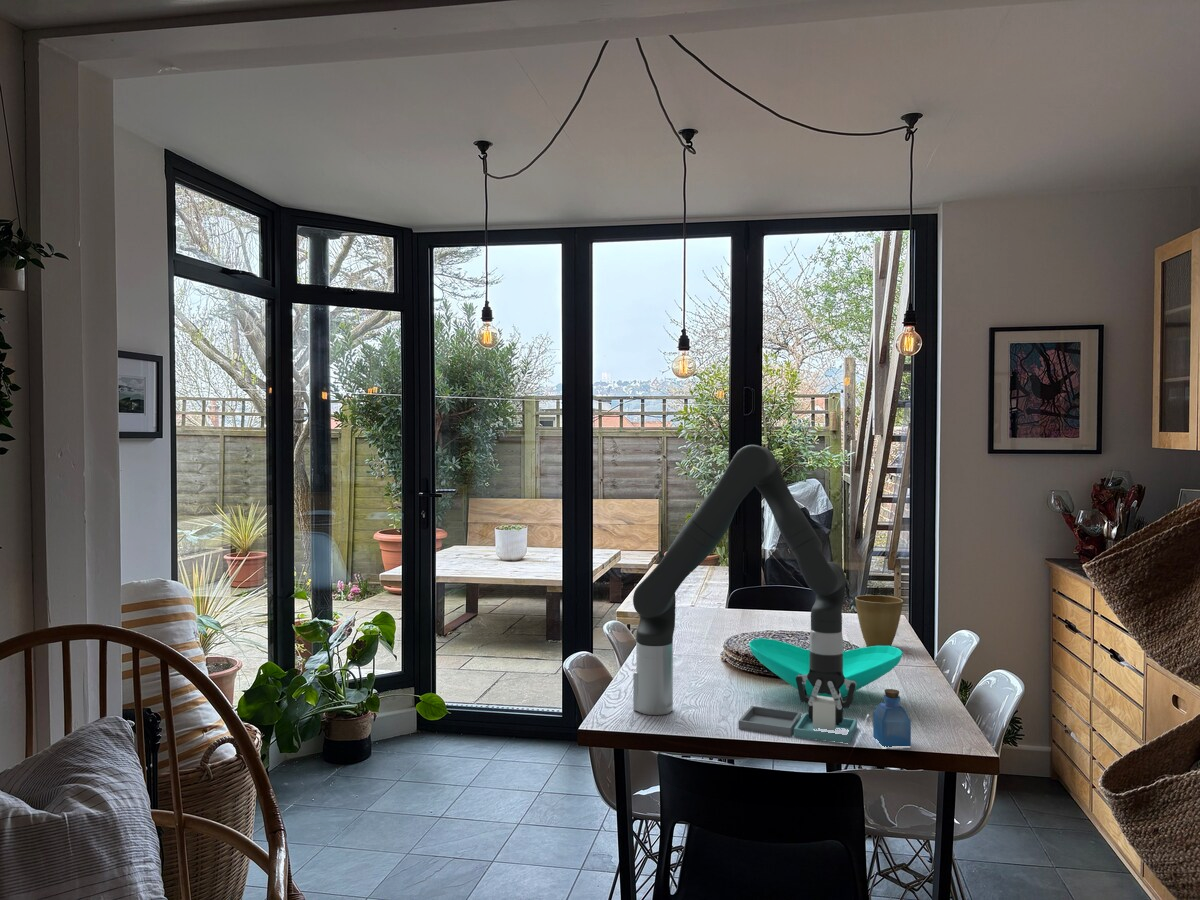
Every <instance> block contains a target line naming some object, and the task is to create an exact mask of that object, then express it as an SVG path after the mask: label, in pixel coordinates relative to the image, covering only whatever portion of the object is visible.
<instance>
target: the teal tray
mask: <svg viewBox="0 0 1200 900" xmlns="http://www.w3.org/2000/svg"><path fill="white" fill-rule="evenodd" d="M802 714H803V715H801V719H800V720H799V722H798V723H797V725H796V726H795V728H794V732H793V737H794V738H800V739H806V738H809V739H808V740H813V739H817V740H816V741H820V740H826V741H825V742H827V741H835V742H843V743H848V744H849V743H851V742H850V741H852V740H853V737H854V735H855V733H856V730H857V728H858V719H852V718H848V717H846V718H845V717H843V721H842V723H840V724H839V725H838V726H837V728H840V729H841V728H845V729H846V730H847V729H848V730H849V732H848V734H847V735H842V734H835V733H828V732H821V731H814V730H813V729H815V730H816V729H817V730H818V728H813V722H812V721H811V719H809V716H808V715H809V712H804V713H802ZM836 730H837V729H836ZM838 730H839V729H838ZM841 730H842V729H841ZM849 745H850V744H849Z"/></svg>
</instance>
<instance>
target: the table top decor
mask: <svg viewBox="0 0 1200 900" xmlns="http://www.w3.org/2000/svg"><path fill="white" fill-rule="evenodd" d="M748 645H749V649H750V651H751V652H750V653H751V654H752V655H753V656H754V658H756V659H757V660H758V662H759V663H761V664H762V665H763V666H764V667H765V668H767V669H768V670H769V671H771V672H772V673H773V674H775V675H776V676H777V677H779V678H780V679H781V680H783V681H784V682H785V683H787V684H789V685H790V686H791V687H793V688H794V689H796V690H797V691H798V687H797V683H796V677H797V676H798V675H799V674H802V675H807V674H808V673H809V650H810V649H805V648H802V647H800V646H796V645H794V644H791V643H788V642H784V641H780V640H777V639H773V638H770V639H769V638H765V637H764V638H762V637H760V638H754V639H751V641H749V642H748ZM903 655H904V652H903V651H902V650H901V649H900V648H898V647H895V646H893V645H891V646H871V647H867V646H865V647H859V648H854V649H850V650H845V651H844V650H843V675H844V677H845V679H847V680H850V681H853V680H855V681H856V682H857V685H856V689H855V692H856V691H858V690H860V689H862V688H864V687H865V686H868V685H869V684H871V683H873V682H875V681H877V680H879V679H880V678H882V677H883V676H885V675H887V673H889V672H891V671H893V669H894V668H895V667H896V666H897V665H898V664H899V663H900V661H901V659H902V657H903ZM805 688H806V692H807V696H809V697H811V694H812V691H813V689H814V688H813V686H812V685H811V683H810V682H809V680H808V679H807V682H806V684H805ZM839 690H840V693H841V698H842V699H844V698H845V697H847V694H848V690H847V689H846V685H845V684H843V685H842V686H841V687H840V688H839ZM818 696H825V697H832V695H829V694H826V693H823V694H821V693H818Z"/></svg>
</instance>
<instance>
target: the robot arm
mask: <svg viewBox="0 0 1200 900" xmlns="http://www.w3.org/2000/svg"><path fill="white" fill-rule="evenodd" d="M754 487H755V488H756V489H757V491H758V492H759V493H760V494H761V496H762V497H763V498H764V501H765V502H766V503H767V505H768V507H769V509H770V510H771V513H772V516H773V518H774V521H775V523H776V525H777V528H778V530H779V532H780V534H781V536H782V537H783V539H784V542H785V543H786V544H787V546H788V547H789V549H790V551H791V552H792V554H793V555H794V557H795V558H796V562H797V564H798V568H799V570H800V573H801V575H802V576H803V577H802V578H803V580H804V581H805V583H806V585H807V587H808V588H809V589H810V590H811V592H813V593H814V594H815V602H814V604H813V605H812V608H811V610H810V634H809V649H808V650H809V673H808V674H807V675H802V674H799V675H798V676H797V677H796V683H797V687H798V690H797V691H798V696H799V700H800V702H802V703H805V704H807V706H808V713H809V715H808V716H809V719H811V721H812V722H813V701H814V700H815V699H816V698H817V696H818V693H821V694H823V693H826V694H829V695H832V697H833V700H834V701H835V703H836V706H837V709H836V725H839V724H840V723H842V721H843V718H844V709H845V708H846V709H850V707H851V705H852V703H853V700H854V695H855V692H856V691H855V689H856V685H857V682H856V681H855V680H853V681H850V680H847V679H845V677H844V675H843V652H844V640H843V639H844V638H843V613H842V612H843V605H844V602H845V594H846V586H847V585H846V584H847V581H846V579H847V578H846V573H845V570H843V567H841V566H840V565H839V564H838V563H836V562H834V561H827V559H826V557H825V555H824V552H823V551H822V550H823V542H822V541H821V539H820V537H819V536H818V534H817V533H816V531H815V529H814V528H813V527H812V525H811V522H809V520H808V519H807V517H806V516H805V514H804V512H803V510H802V509H801V507H800V506H799V505H798V503H797V501H796V500H795V497H794V496H793V495H792V492H791V491H790V489H789V486H788V484H787V483H786V481H785V479H784V476H783V473H782V472H781V469H780V467H779V464H778V462H777V459H776V457H775V455H774V453H773V452H772V451H771V450H770V449H769V448H767V447H765V446H762V445H761V446H760V445H759V444H748V445H745V446H743V447H741V448H740V449H738V450H737V452H736V453H735V454H734V455H733V457H732V459H731V461H730V462H729V464H728V466H727V467H726V469H725V470H724V472H723V474H722V476H721V477H720V479H719V481H718V482H717V483H716V485H715V487H713V488H712V490H711V491H710V492H709V494H708V495H706V497H705V498H704V499H703V501H702V502H701V503H700V504H699V506H698V507H697V508H696V509H695V511H694V512H693V514H691V516H690V517H689V518H688V520H687V521H686V522H685V524H684V525H683V526H682V528H681V530H680V531H679V532H678V534H677V536H675V538H674V540H673V541H672V543H671V544H670V546H669V547H668V549H667V551H666V552H665V554H664V556H663V558H662V559H661V561H660V562H659V563H658V564H657V565H656V566H655V568H654V569H653V570H652V571H651V572H650V573H649V574H648V575H647V576H646V577H645V578H644V579H643V580H642V581H641V582H640V584H638V586H636V588H635V590H634V592H633V595H632V604H633V607H634V610H635V612H636V613H637V614H638V615H639V622H638V627H637V629H636V634H635V635H636V636H635V637H636V639H635V642H636V646H635V648H636V650H635V651H636V654H635V655H636V656H635V657H636V660H635V661H636V665H635V666H636V668H635V669H636V670H635V671H634V672H633V675H632V676H633V677H632V678H633V683H632V684H633V685H632V686H633V688H632V689H633V692H632V694H633V696H632V697H633V699H632V700H633V701H632V702H633V707H632V710H633V711H636V712H639V713H640V714H644V715H648V716H662V715H667V714H670V713H672V712H673V711H672V710H674V708H673V707H674V699H673V698H674V697H673V696H674V686H673V685H674V677H673V676H674V668H673V667H674V665H673V664H674V645H673V644H674V632H675V629H676V628H675V627H676V603H677V602H676V592H677V591H678V589H679V588H680V586H681V585H682V583H683V582H684V580H685V579H686V578H688V576H689V575H690V574H691V573H692V572H693V571H695V570H696V569H697V568H698V567H699V566H700V565H701V564H702V563H703V562H704V561H705V560H706V559H707V558H708V556H710V554H711V553H712V552H713V550H714V549H715V548H716V547H717V546H718V545H719V543H720V542H721V541H722V539H723V538H724V536H725V534H726V533H727V531H728V530H729V528H730V526H731V524H732V521H733V518H734V516H735V514H736V512H737V509H738V507H739V506H740V504H741V503H742V502H743V500H744V499H745V498H746V497H747V496H748V494H749V493H750V492H751V491H752V490H753V489H754ZM807 679H808V680H809V682H810V683H811V685H812V686H813V688H814V689H813V691H812V694H811V697H809V696H807V692H806V688H805V684H806V682H807ZM843 684H845V685H846V689H847V690H848V694H847V696H846V699H845V700H843V698H841V693H840V690H839V688H840V687H841V686H842V685H843ZM671 711H672V712H671Z"/></svg>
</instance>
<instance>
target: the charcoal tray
mask: <svg viewBox="0 0 1200 900" xmlns="http://www.w3.org/2000/svg"><path fill="white" fill-rule="evenodd" d="M801 717H802V712H801V711H794V710H786V709H780V708H779V709H778V708H771V707H765V706H757V705H751V706H750V707H749V708H748V709H747V710H746V711H745V712H744V713H743V715H742V716H741V717H740V718H739V719H738V722H737V723H738V724H737V726H738V729H739V730H740V729H741V730H746V731H753V732H758V733H759V732H760V733H765V734H766V733H767V734H774V735H779V736H787V737H792V734H794V728H795V726H796V725H797V723H798V722H799V720H800V719H801Z"/></svg>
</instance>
